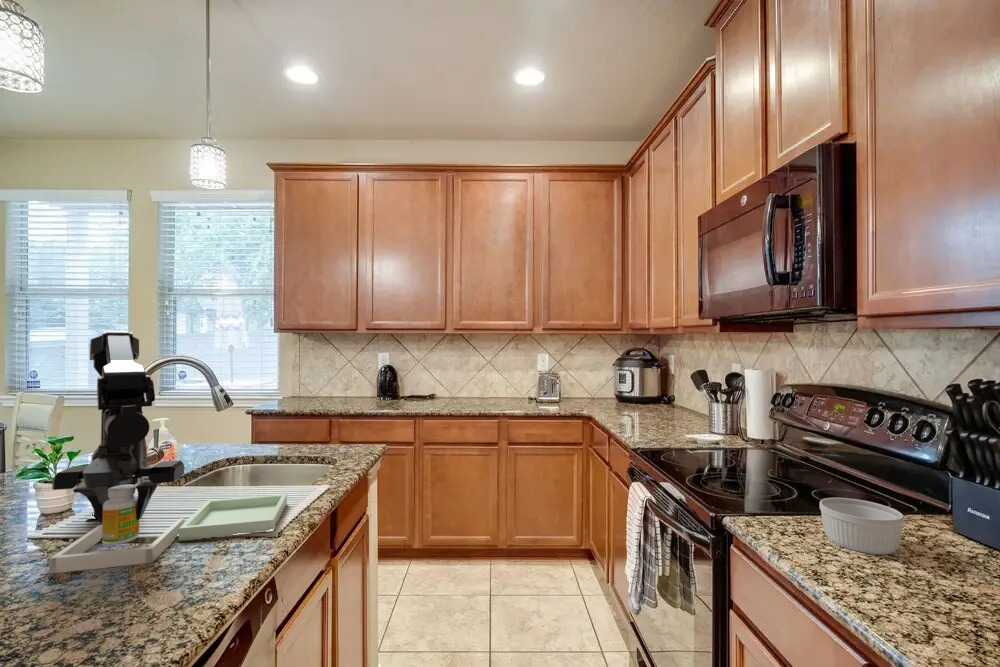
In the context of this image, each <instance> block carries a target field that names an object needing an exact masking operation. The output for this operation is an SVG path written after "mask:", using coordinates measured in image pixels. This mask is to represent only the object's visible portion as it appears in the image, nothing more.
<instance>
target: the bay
mask: <svg viewBox="0 0 1000 667" xmlns="http://www.w3.org/2000/svg"><path fill="white" fill-rule="evenodd" d="M185 522H186V521H185V517H183V518H182V517H181V518H180V517H179V518H178V519H176V521H174V523H172V524H171V525H170V526H169V527H168V528H167V529H166V530H165V531H164V532H163V533H162V534H160V535H159V536H158V537H157V538H156V539H155V540H154V541H153V542H151V544H150V545H149V546H144V547H143V546H142V547H134V548H133V547H132V548H123V549H122V548H121V549H113V550H103V551H91V552H86V551H88V550H90V549H91V548H92V547H94V546H95V545H96V544H97V543H99V542H100V541H102V540H101V537H102V524H100V525H99V524H98V525H97V526H95V527H94V528H92V529H91V530H90V531H88V532H87V533H85V534H84V535H82V536H81V537H80V538H78V539H76V540H75V541H73V542H72V543H70V544H68V546H66V547H65V548H63V549H61V550H59V552H57V553H56V554H54V555H53V556H51V557H50V558H48V574H59V573H68V572H78V571H79V572H80V571H87V570H97V569H103V568H104V569H105V568H114V567H116V568H117V567H124V566H133V565H140V564H141V565H143V564H151V563H153V562H155V560H156V559H157V558H159V557H160V555H161V554H163V552H165V550H166V549H168V548H169V546H170V545H171V544H172V543H173V542H174V541H175V540H176V539H177V538H176V536H177V535H178V534H179V528H180V527H181V526H182V525H183V524H184V523H185ZM175 538H176V539H175Z"/></svg>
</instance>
